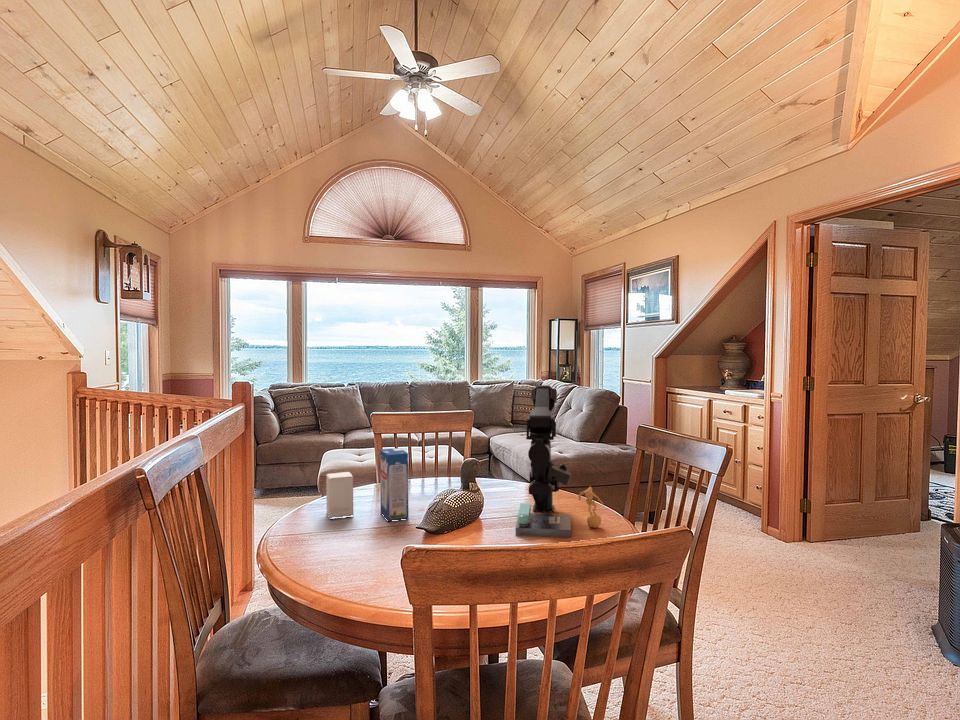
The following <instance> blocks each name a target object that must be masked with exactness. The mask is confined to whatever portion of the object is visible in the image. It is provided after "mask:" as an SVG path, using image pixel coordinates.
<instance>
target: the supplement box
mask: <svg viewBox="0 0 960 720" xmlns="http://www.w3.org/2000/svg"><path fill="white" fill-rule="evenodd" d="M325 480H326V481H325V482H326V486H325V488H326V515H327V514H328V515H327V517H328V516H329V518H332V517H343V516H351V515H353V516H354V476H353V474H352V473H351V472H350V471H344V472H343V471H342V472H334V473H333V472H331V473H326V479H325ZM329 518H328V519H329Z"/></svg>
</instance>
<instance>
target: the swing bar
mask: <svg viewBox="0 0 960 720" xmlns="http://www.w3.org/2000/svg"><path fill="white" fill-rule="evenodd" d="M531 506H532V505H531V503H530V502H529V503H527V502H525V503H523V502H522V503H520V504H519V508H518V513H517V519H518V523H519V524H528V523H529V517H530V513H532V512H531V511H532V509H531Z"/></svg>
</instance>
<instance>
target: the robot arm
mask: <svg viewBox="0 0 960 720" xmlns="http://www.w3.org/2000/svg"><path fill="white" fill-rule="evenodd" d="M530 391H531V392H530V393H531V394H530V401H531V404H533V409H531V411H530V412H529V417H527V418H526V440H528V441H529V440H531V441H530V447H529V449H528V454H527V456H528V458H529V460H530V471H529V483H528V495H531V496H532V499H533V500H534V504H533V508H532V512H533V513H535V512H536V513H538V512H539V513H554V512H555V505H554V504H553V503H554V501H553V499H554V497H553V495H554V494H553V493H557V492H559V490H560V483H561V484H562V485H564V486H568V484H569V482H570V478H571V476H572V473H571V472H570V470H567V465H566V464H563V463H561V464H560V465H558V466H557V465H554V464H553V460H552V458H551V457H552V453H551V452H552V450H551V449H552V447H551V446H552V442H551V441H554V439H555V438H556V437H557V422H556V421H555V418H553V416H552V415H553V413H554V412H555V411H556V404H558V390H557V389H555V388H553V387H552V386H551V385H549V384H547V385H544V384H543V385H540V384H538V385H535V387H534V388H531V389H530Z"/></svg>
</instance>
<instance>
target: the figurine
mask: <svg viewBox="0 0 960 720" xmlns="http://www.w3.org/2000/svg"><path fill="white" fill-rule="evenodd" d="M582 495H584V496H585V498H586V499H585V502H586V504H587V505H588V507H587V508H588V512H589V515H588V516H587V518H586V522H587V524H588V525H587V526H589V527H591V528H594V529H597V528H599V527H600V526H601V524H602V518H601V516H600V515H599V514H598V513H596V512H595V511H596V510H597V507H598V505H597V504H596V502H595V500H593V498H596V499H597V500H598V502H600V503H601V505H602V506H603V507H605V505H604V502H603V501H602V500H601V498H599V496H598V495H596V494H595V493H594V492H593V487H592V486H589V487H588V488H587V489H586V490H583V491H581V492H579V493H578V501H581V500H582V498H581V497H582ZM592 506H593V508H592ZM591 509H592V510H591Z"/></svg>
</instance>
